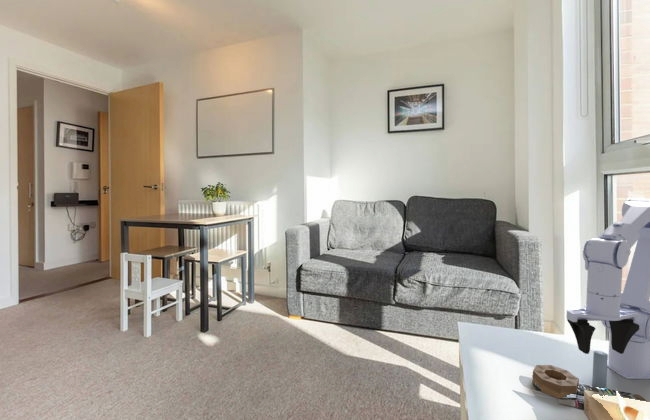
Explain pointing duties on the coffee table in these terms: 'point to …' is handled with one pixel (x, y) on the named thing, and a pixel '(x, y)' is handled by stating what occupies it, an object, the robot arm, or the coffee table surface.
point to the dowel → (599, 369)
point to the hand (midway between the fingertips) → (600, 351)
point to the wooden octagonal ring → (555, 380)
